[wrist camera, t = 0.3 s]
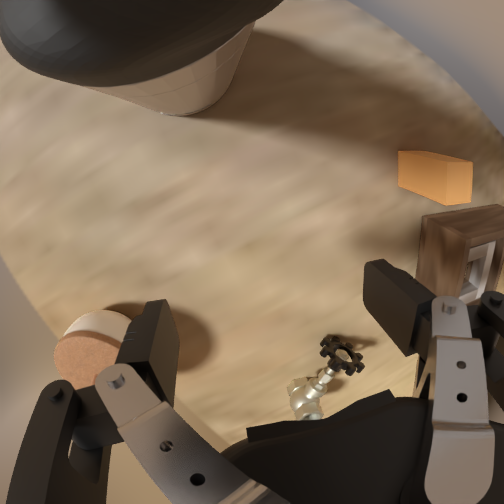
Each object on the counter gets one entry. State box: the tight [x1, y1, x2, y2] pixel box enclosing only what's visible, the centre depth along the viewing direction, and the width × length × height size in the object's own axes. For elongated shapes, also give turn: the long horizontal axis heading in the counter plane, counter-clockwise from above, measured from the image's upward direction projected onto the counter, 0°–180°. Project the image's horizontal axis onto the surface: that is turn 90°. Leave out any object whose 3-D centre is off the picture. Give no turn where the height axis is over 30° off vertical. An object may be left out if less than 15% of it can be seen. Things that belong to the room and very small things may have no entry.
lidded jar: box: [54, 310, 132, 390], centre depth 27 cm, size 11×11×9 cm
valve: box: [287, 336, 365, 420], centre depth 35 cm, size 7×7×12 cm
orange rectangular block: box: [398, 151, 473, 206], centre depth 24 cm, size 4×4×8 cm
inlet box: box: [415, 204, 504, 306], centre depth 31 cm, size 18×18×8 cm
